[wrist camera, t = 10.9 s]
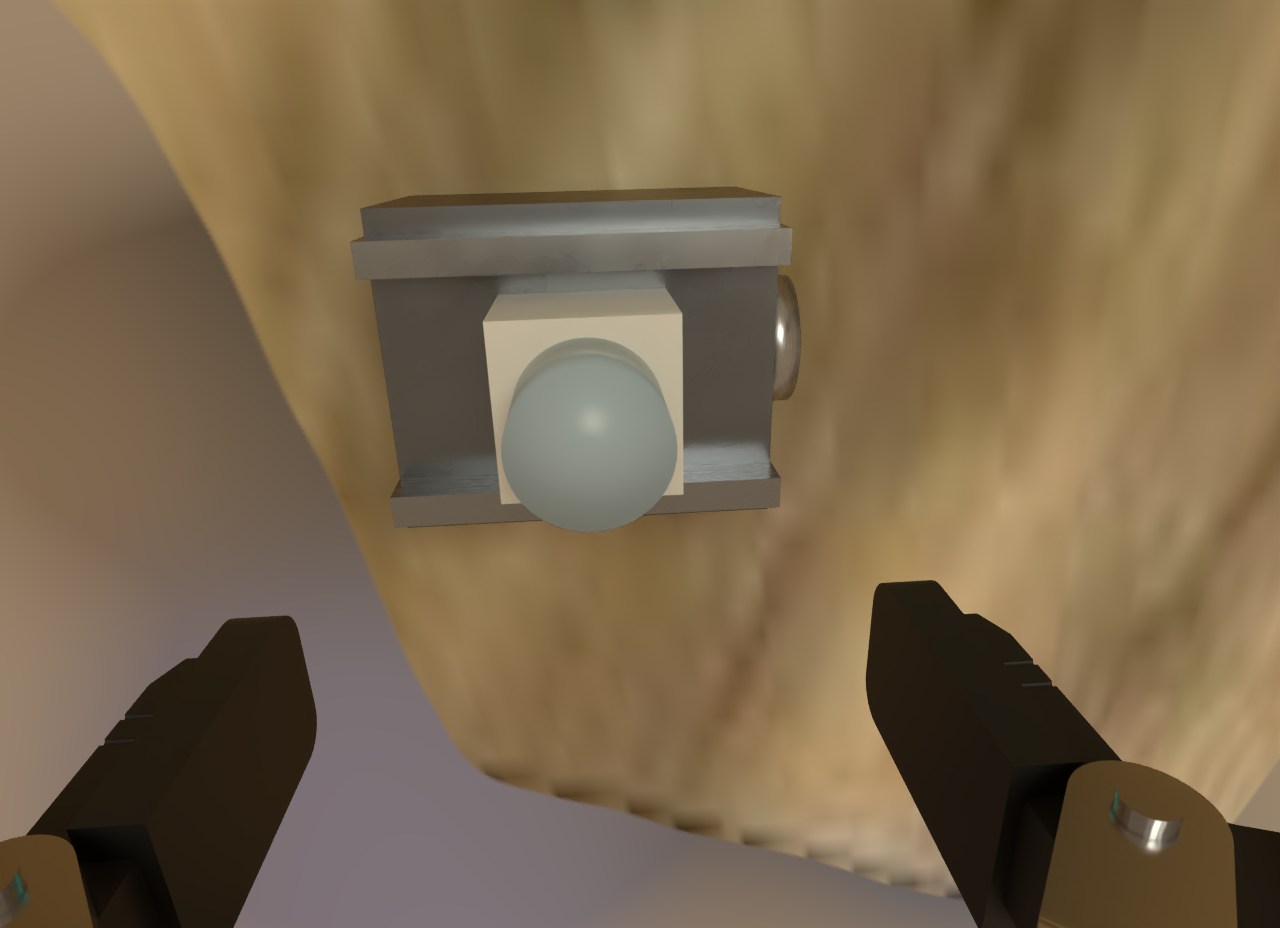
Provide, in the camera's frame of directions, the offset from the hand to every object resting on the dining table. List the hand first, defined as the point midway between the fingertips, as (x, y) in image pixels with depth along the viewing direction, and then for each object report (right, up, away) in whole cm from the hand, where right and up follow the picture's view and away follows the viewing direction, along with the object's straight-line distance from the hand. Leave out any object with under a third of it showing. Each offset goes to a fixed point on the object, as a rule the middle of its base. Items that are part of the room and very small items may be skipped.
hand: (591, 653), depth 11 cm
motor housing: (-2, +8, +20) cm, 21 cm away
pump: (-1, +5, +13) cm, 14 cm away
